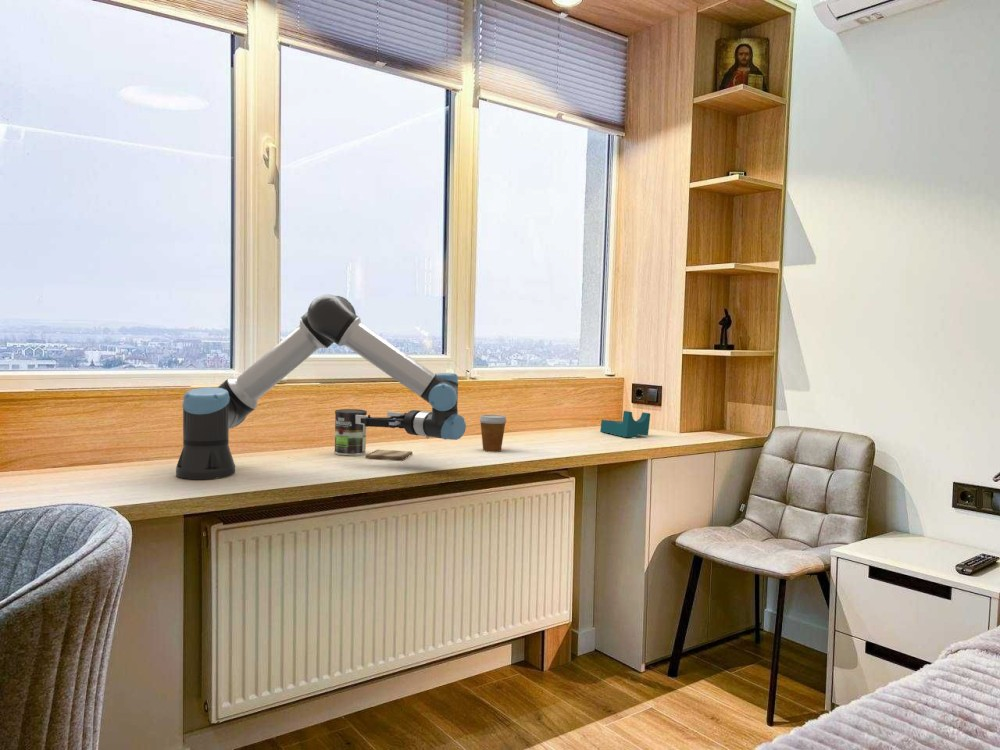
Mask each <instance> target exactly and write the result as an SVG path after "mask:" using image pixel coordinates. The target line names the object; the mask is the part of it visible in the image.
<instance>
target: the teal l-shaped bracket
mask: <svg viewBox="0 0 1000 750" xmlns="http://www.w3.org/2000/svg"><path fill="white" fill-rule="evenodd" d="M622 415H623V417H622V420H607V419H601V421H600V422H601V423H600V430H599V432H600V433H604V432H605V434H608V433H610V435H612V434H614V436H617V435H618V437H621V436H623V437H622V438H625V437H637V438H638V436H649V429H650V421H651V420H650V419H651V413H650V412H641V415H640V417H639V419H637V420H635V419H634V417H633V411H627V410H623V413H622Z"/></svg>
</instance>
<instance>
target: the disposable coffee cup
mask: <svg viewBox="0 0 1000 750" xmlns="http://www.w3.org/2000/svg"><path fill="white" fill-rule="evenodd" d="M478 421H479V422H480V430H481V431H480V432H481V441H482V442H481V443H482V451H484V450H485V451H484V452H488V451H498V452H501V451H502V446H503V441H504V433H505V428H506V427H505V426H506V422H507V421H508V420H507V418H506V416H505V415H501V414H482V415H480V417H479V419H478Z"/></svg>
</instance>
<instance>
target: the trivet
mask: <svg viewBox="0 0 1000 750" xmlns="http://www.w3.org/2000/svg"><path fill="white" fill-rule="evenodd" d="M411 454H412V455H413V451H412V450H411V451H410V450H390V449H376V450H374V451H372V452H370V453H368V454H365V459H366V458H369V459H368V460H382V459H394V460H393V461H399V460H402V461H403V459H404V460H406V459H407V458H409V457H410V456H409V455H411ZM412 455H411V456H412ZM408 456H409V457H408ZM406 457H407V458H406ZM405 458H406V459H405Z"/></svg>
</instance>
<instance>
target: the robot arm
mask: <svg viewBox="0 0 1000 750" xmlns="http://www.w3.org/2000/svg"><path fill="white" fill-rule="evenodd" d="M333 344H336V345H338V347H342V346H343V347H344V346H346V347H347V348H348V349H350V350H352V351H353V352H354V353H356V354H357V355H359V356H360V357H361V358H363V359H364V360H366V361H368V362H369V363H371V364H372V365H373V366H374V367H376V368H378V369H379V370H381V371H382V372H383V373H385V374H387V375H388V376H389V377H391V378H392V379H394V380H395V381H396V382H398V383H399V384H401V385H403V386H404V387H405V388H407V389H408V390H410V391H411V392H413V393H415V394H416V395H417V396H419V397H420V398H421V399H423V400H424V401H425V402H427V403H429V404H430V406H431V407H432V408H431V411H429V410H427V411H425V410H417V409H411V410H409V411H408V412H405V413H404V412H398V411H397V412H396V411H386V413H387V414H386V417H384V416H383V417H378V416H377V417H373V416H372V415H371V414H368V415H366V416H363V415H356V424H362V425H365V426H366V428H367V427H371V428H373V427H375V428H390V429H396V428H399V429H404V430H405V432H406V433H407V434H408V435H413V436H422V437H425V439H429V438H436V439H442V440H446V441H447V440H450V441H451V440H452V441H456V440H460V439H461V438H462V437H463V435H464V434H465V432H466V427H467V423H466V421H465V418H464V417H463V416H462V415H460V414H459V411H458V403H459V402H458V400H459V377H458V375H457V373H454V372H453V373H450V372H438V373H437V372H436V373H434V372H433V371H432V370H430V369H428V368H426V367H425V366H424V365H422V364H421V363H419V362H418V361H417V360H415V359H414V358H412V357H411V356H410V355H409V354H406V353H405V352H404V351H402V350H401V349H399V348H398V347H397V346H395V345H393V344H392V343H390V342H389V341H388V340H386V339H385V338H383V336H380V335H379V334H378V333H376V332H375V331H373V330H372V329H370V328H369V327H368V326H366V325H364V324H363V323H362V322H361V317H360V316H358V315H357V313H356V310H355V308H354V305H352V303H351V302H350V301H349V300H348V299H347V298H345V297H343V296H340V295H333V294H322V295H319V296H318V297H316V298H314V299H313V300H312V301H311V302H310V304H309V306H308V308H307V311H306V312H305V313H304V314H303V315H302V316H301V317H300V319H299V325H298V326H297V327H296V328H295V329H293V330H292V331H290V332H289V334H288V335H286V336H285V337H284V338H283V339H281V341H280V342H278V343H277V344H276V345H275V346H273V347H272V348H271V349H270V350H269V351H268V352H266V353H265V354H264V355H263V356H261V357H260V358H259V359H258V360H256V361H255V362H254V363H253V364H252V365H251V366H249V367H248V368H247V369H246V370H245V371H244V372H242V373H241V374H239V376H238V377H228V378H226V380H224V381H223V382H222V383H221V384H219V385H218V386H217V387H210V386H207V387H199V388H192V389H190V390H188V391H186V392H185V393H184V394H183V399H182V449H181V453H180V456H179V457H178V461H177V464H176V468H175V476H176V477H177V478H179V479H180V478H181V479H186V480H211V479H213V480H214V479H223V478H226V477H231V476H233V475H235V474H236V464H235V461H234V458H233V455H232V452H231V449H230V445H229V444H230V443H229V442H230V441H229V439H230V437H229V435H230V433H229V430H230V429H233V428H236V427H238V426H239V425H241V424H242V423H243V422H244V421H245V419H246V418H247V416H248V415H250V414H251V413H252V412H253V411H254V410H256V408H258V400H259V399H260V398H261V397H263V396H264V395H265V394H266V393H267V392H269V391H270V390H271V389H272V388H273V387H275V386H277V384H278V383H279V382H280V381H282V380H283V379H284V378H286V377H287V376H288V375H290V373H291V372H293V371H294V370H295V369H296V368H297V367H298V366H299V365H301V364H302V363H303V362H304V361H306V360H307V359H308V358H309V357H310V356H311V355H313V354H314V353H315V352H317V351H318V350H319V349H320V348H322V349H328V348H329V347H331V346H332V345H333Z"/></svg>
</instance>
